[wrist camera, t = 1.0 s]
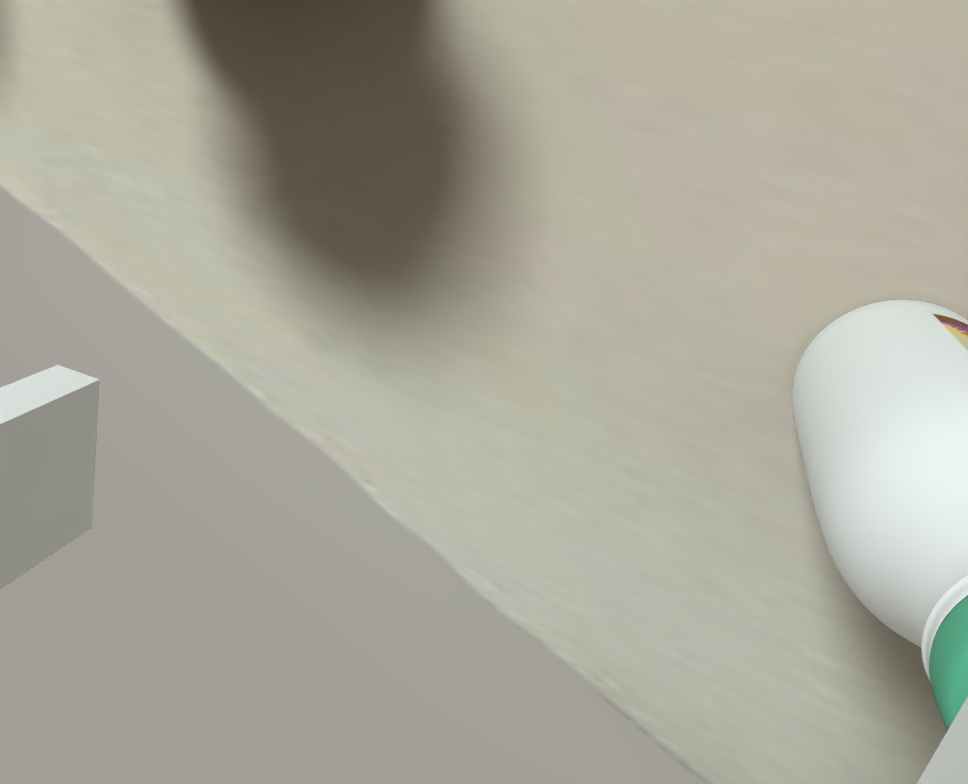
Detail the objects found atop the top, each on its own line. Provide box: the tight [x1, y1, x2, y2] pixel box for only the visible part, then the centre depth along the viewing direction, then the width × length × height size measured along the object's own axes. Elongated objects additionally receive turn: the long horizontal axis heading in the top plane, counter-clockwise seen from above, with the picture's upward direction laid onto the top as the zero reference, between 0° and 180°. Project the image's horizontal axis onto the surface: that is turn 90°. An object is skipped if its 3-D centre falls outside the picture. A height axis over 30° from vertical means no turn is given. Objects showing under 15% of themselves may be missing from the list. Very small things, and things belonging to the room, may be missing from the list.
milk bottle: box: [792, 300, 968, 729], centre depth 25 cm, size 8×8×20 cm
